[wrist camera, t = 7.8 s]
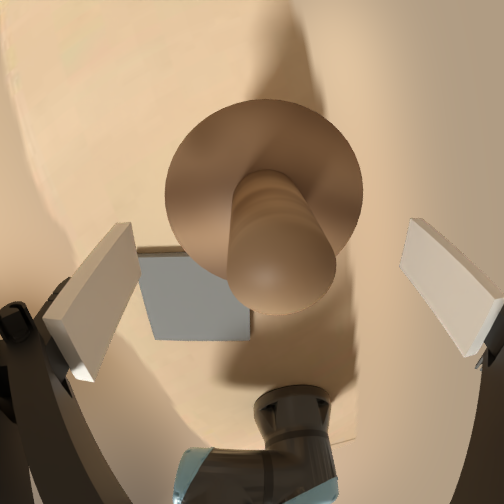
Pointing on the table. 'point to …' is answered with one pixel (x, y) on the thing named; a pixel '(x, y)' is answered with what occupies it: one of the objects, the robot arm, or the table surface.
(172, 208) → the lid
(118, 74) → the table surface
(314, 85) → the table surface
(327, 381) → the table surface
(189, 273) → the mat
